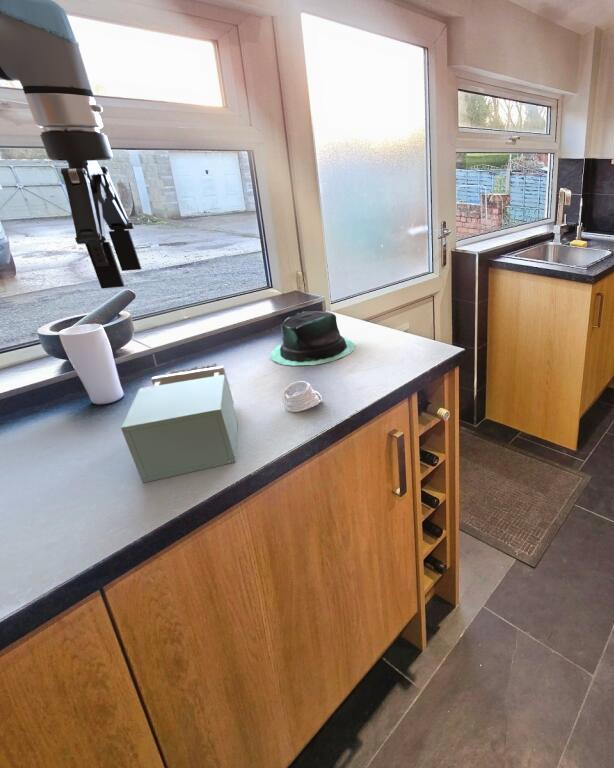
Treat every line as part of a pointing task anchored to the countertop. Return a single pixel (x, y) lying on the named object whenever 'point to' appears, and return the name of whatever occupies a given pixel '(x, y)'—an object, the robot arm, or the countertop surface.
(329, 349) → the dark green hat
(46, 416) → the countertop surface
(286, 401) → the white ribbed cup
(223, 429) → the cabinet
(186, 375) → the drawer
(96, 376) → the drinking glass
